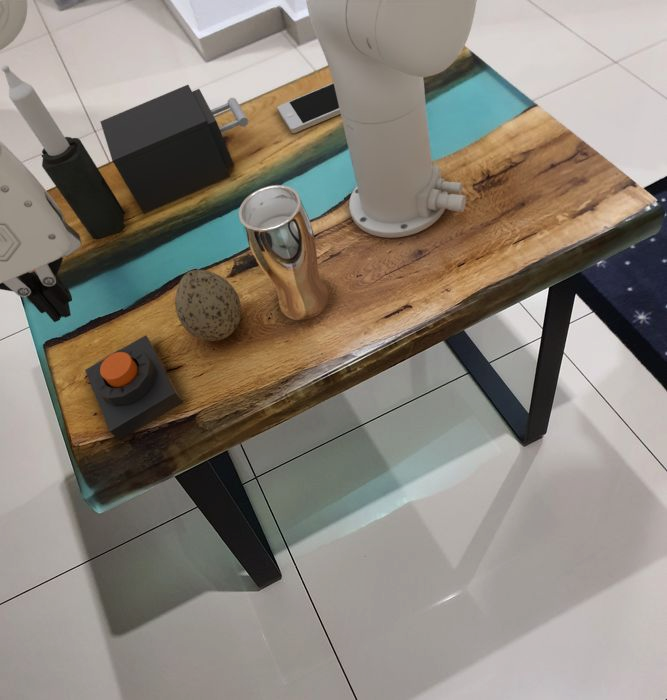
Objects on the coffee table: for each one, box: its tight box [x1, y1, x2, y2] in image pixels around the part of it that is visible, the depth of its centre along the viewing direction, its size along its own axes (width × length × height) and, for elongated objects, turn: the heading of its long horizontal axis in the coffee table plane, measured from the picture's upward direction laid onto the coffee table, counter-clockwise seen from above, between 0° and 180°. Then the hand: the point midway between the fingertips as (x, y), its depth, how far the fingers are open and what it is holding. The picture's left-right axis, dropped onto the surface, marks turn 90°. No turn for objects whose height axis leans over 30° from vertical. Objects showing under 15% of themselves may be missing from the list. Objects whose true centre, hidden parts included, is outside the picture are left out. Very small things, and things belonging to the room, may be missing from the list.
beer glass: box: [238, 184, 330, 321], centre depth 71 cm, size 7×7×15 cm
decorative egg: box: [174, 269, 242, 342], centre depth 73 cm, size 7×7×10 cm
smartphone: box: [277, 82, 341, 134], centre depth 99 cm, size 7×15×1 cm, turn 111°
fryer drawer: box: [192, 88, 249, 170], centre depth 94 cm, size 17×9×8 cm, turn 112°
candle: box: [0, 63, 126, 240], centre depth 84 cm, size 5×5×25 cm
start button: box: [100, 352, 138, 388], centre depth 71 cm, size 4×4×2 cm
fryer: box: [100, 84, 231, 215], centre depth 93 cm, size 14×11×10 cm
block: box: [84, 335, 184, 441], centre depth 73 cm, size 10×8×4 cm
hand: (61, 308), depth 62 cm, fingers closed
